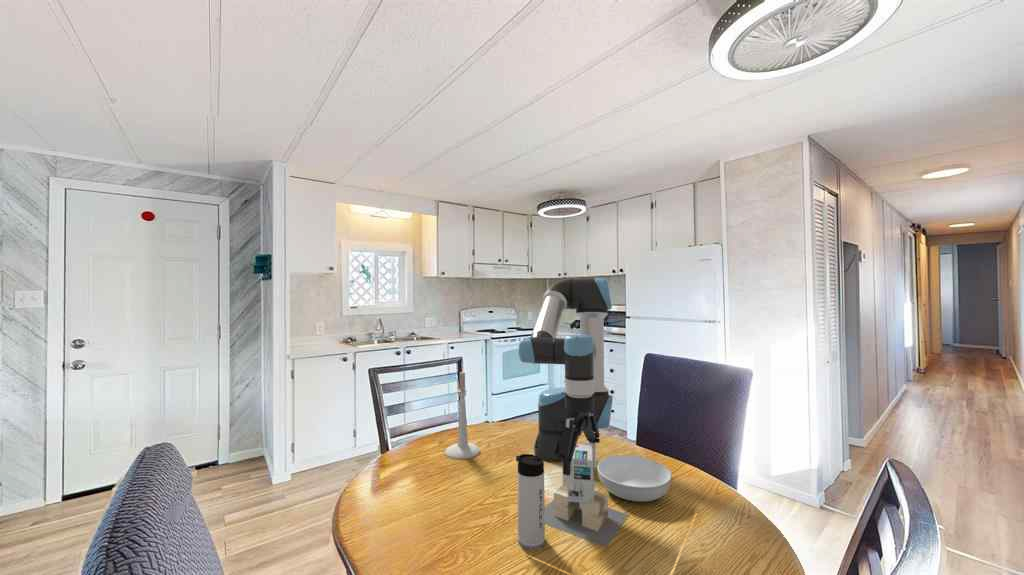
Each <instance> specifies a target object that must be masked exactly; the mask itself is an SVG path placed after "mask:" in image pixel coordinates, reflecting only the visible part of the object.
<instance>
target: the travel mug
mask: <svg viewBox="0 0 1024 575" xmlns="http://www.w3.org/2000/svg"><path fill="white" fill-rule="evenodd" d="M515 461H516V462H517V536H518V537H517V543H518V545H519V546H520V547H521V548H523V549H524V550H530V551H531V550H532V551H535V550H539V549H541V548H543V547H544V545H545V543H546V537H545V536H546V533H545V532H546V527H545V526H546V524H545V507H546V506H545V468H544V467H545V462H544V461H545V460H543V459H542V458H540V457H539V456H536V455H535V454H531V453H524V454H523V453H522V454H520V455H515Z"/></svg>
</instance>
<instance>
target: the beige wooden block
mask: <svg viewBox="0 0 1024 575" xmlns="http://www.w3.org/2000/svg"><path fill="white" fill-rule="evenodd" d="M553 500H554V516H556V517H559V518H562V519H564V520H567V521H568V520H569V519H570V518H571V517H572V516H573V515H574V514H575V513H576V512H577V511H578V510H579V509H580V503H579V502H570V501H568V495H567V487H565V486H563V484H562V485H561V486H559V487H558V489H556V490H555V491H554V492H553Z"/></svg>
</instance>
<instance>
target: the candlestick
mask: <svg viewBox="0 0 1024 575" xmlns="http://www.w3.org/2000/svg"><path fill="white" fill-rule="evenodd" d="M457 392H458V396H459V414H458V415H459V416H458V433H457V434H458V436H457V443H454V444H452V445H450V446H447V448H446V449H445V456H446V457H447V458H450V459H452V460H468V459H472V458H475V457H477V456H478V455H479V454H480V453H481V448H480V447H479V446H478V445H477V444H474V443H471V442H469V441H468V440H469V439H468V426H467V412H466V411H467V409H466V398H465V397H466V395H467V392H468V389H466V372H463V371H460V372H459V389H457Z"/></svg>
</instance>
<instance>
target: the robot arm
mask: <svg viewBox="0 0 1024 575" xmlns="http://www.w3.org/2000/svg"><path fill="white" fill-rule="evenodd" d="M540 304H541V308H540V310H539V313H538V316H537V318H536V321H535V324H534V327H533V330H532V332H531V334H530V336H528V337H523V338H521V339H520V341H519V343H518V357H519V360H520V361H521V362H522V363H526V364H533V365H534V364H539V365H540V364H541V365H543V364H545V365H564V381H563V383H564V387H554V388H553V387H552V388H547V389H545V390H542V391H541V392H540V393H539V394H538V403H537V407H538V409H537V410H538V412H537V413H538V433H537V436H536V440H535V442H534V446H533V453H534V454H533V455H536V456H539V457H540V458H542V460H543V461H548V462H562V485H563V486H565V487H568V488H571V489H573V488H574V461H572V458H573V455H574V451H575V447H576V444H578V440H579V437H581V435H582V433H583V434H584V437H585V438H586V441H585V445H592V446H593V458H594V469H597V444H599V443H600V431H599V429H601V430H602V429H603V430H606V429H608V428H609V427H610V424H611V415H612V407H613V399H614V398H613V397H614V396H613V395H612V394H609V392H610V390H609V389H608V388H607V387H606V385H605V342H604V341H605V340H604V339H605V330H604V323H605V322H604V321H605V318H606V317H607V316H608V314H609V311H610V310H612V308H613V307H612V300H611V292H610V286H609V281H608V280H607V279H606V278H599V277H588V278H587V277H586V278H565V279H560V280H559V281H556V282H555V283H554V284H552V285H550V286H549V287H548V288H547V289H546V290H545V292H543V295H542V298H541V302H540ZM566 310H575V315H576V316H577V317H578V318H579V334H568V335H566V336H565V337H563V338H561V337H560V338H559V337H557V333H558V332H559V331H558V330H559V327H560V323H561V319H562V315H563V313H564V312H565V311H566ZM556 337H557V338H556ZM596 443H597V444H596Z"/></svg>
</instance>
